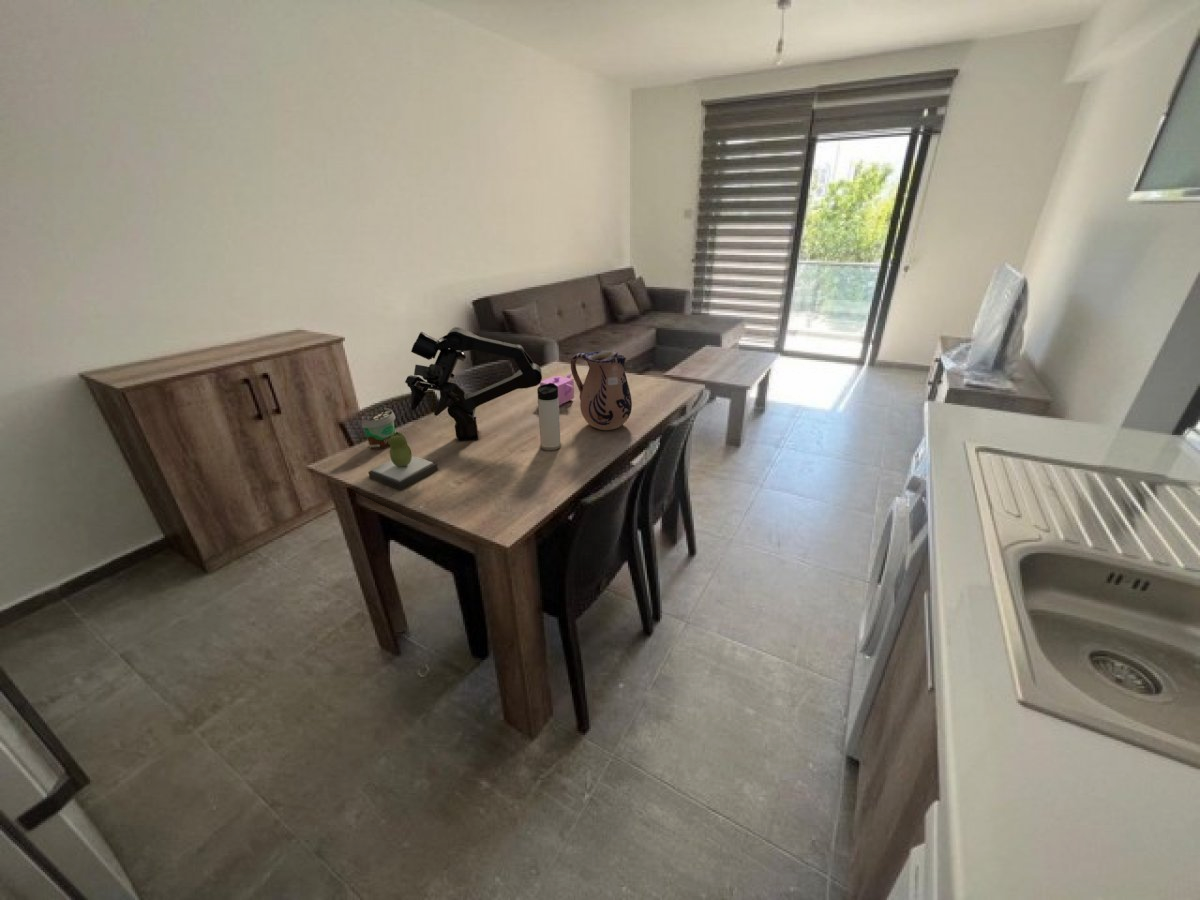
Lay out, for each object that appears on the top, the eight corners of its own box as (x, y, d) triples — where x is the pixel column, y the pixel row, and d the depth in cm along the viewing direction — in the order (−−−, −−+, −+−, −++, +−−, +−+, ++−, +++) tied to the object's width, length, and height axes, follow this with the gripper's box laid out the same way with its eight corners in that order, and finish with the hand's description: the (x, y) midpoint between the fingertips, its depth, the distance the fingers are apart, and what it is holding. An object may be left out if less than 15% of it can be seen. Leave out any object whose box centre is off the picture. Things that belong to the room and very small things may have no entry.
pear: (414, 460, 138) (407, 428, 134) (412, 468, 134) (406, 436, 129) (393, 462, 137) (386, 430, 132) (391, 471, 132) (384, 438, 128)
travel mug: (564, 443, 154) (561, 383, 145) (555, 452, 148) (552, 390, 139) (546, 440, 156) (542, 381, 147) (537, 449, 150) (533, 388, 141)
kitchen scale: (407, 459, 144) (405, 451, 143) (437, 469, 138) (436, 461, 137) (369, 478, 134) (367, 470, 133) (400, 490, 128) (398, 481, 127)
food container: (385, 452, 148) (378, 423, 144) (368, 451, 149) (360, 421, 145) (407, 436, 159) (402, 408, 154) (391, 434, 160) (384, 407, 156)
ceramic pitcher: (628, 437, 157) (629, 363, 146) (565, 433, 161) (562, 360, 149) (633, 417, 173) (635, 349, 161) (577, 413, 176) (575, 346, 165)
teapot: (559, 391, 198) (558, 367, 193) (587, 397, 191) (587, 373, 186) (531, 405, 184) (529, 379, 179) (560, 412, 177) (559, 386, 173)
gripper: (403, 349, 142) (381, 395, 138) (452, 356, 135) (430, 406, 131) (427, 367, 152) (407, 411, 148) (474, 375, 145) (454, 422, 141)
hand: (423, 412), depth 142 cm, fingers open, 9 cm apart
